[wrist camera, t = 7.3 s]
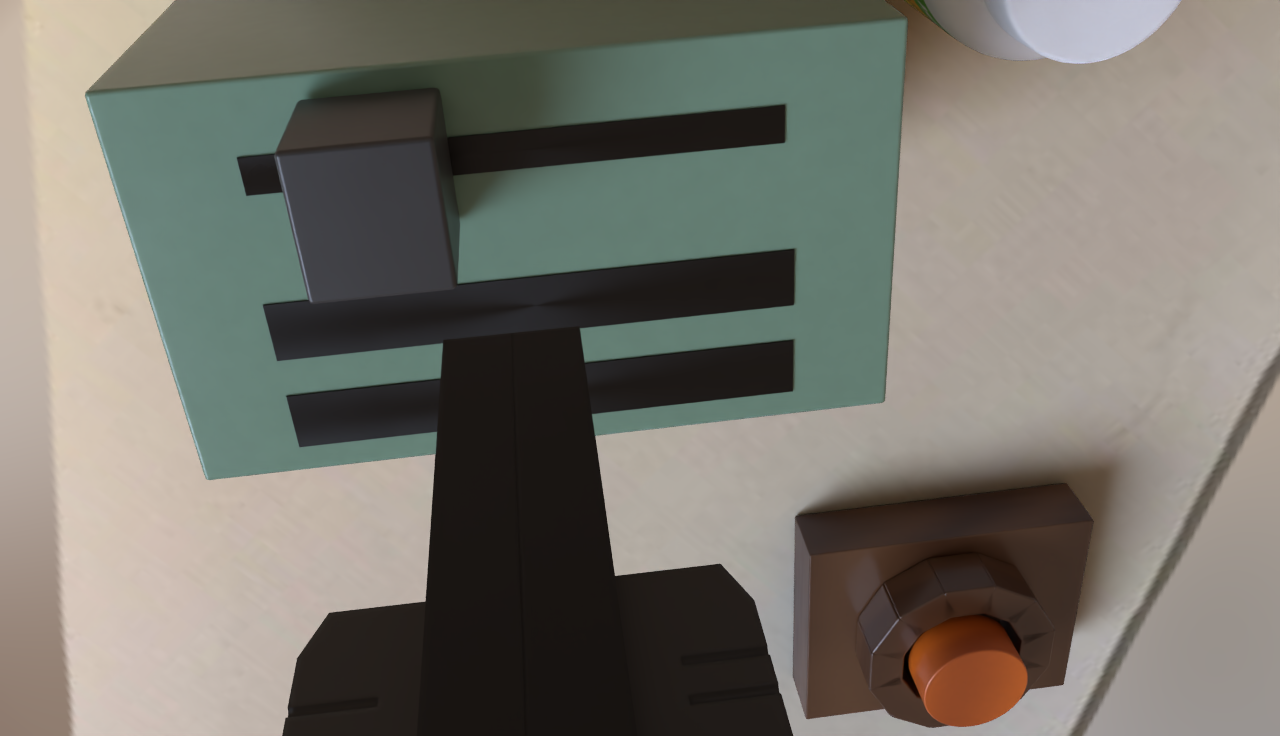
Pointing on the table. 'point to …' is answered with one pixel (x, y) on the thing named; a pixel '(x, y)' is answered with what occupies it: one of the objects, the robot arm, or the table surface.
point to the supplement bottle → (1048, 26)
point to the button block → (931, 590)
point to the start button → (967, 671)
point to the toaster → (521, 209)
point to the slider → (371, 195)
